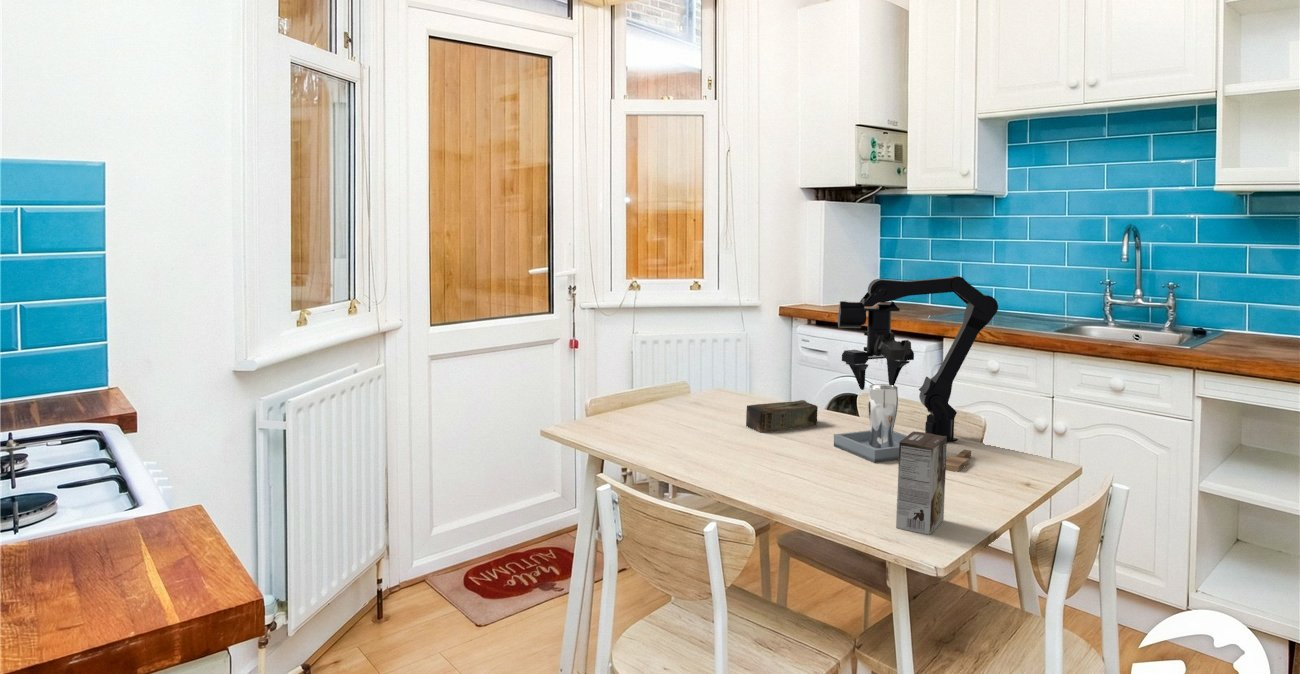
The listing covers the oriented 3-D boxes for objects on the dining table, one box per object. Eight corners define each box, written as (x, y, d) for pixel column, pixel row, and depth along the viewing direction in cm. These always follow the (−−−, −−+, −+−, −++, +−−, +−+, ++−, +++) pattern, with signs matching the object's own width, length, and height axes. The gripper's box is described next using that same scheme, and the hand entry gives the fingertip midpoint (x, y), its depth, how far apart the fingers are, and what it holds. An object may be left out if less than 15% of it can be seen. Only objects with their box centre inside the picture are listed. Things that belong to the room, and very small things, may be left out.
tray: (885, 439, 204) (886, 428, 203) (929, 455, 189) (929, 443, 189) (833, 446, 198) (834, 434, 197) (874, 463, 183) (874, 450, 183)
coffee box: (909, 513, 150) (913, 430, 148) (944, 520, 146) (948, 435, 144) (894, 528, 143) (897, 440, 141) (930, 535, 139) (934, 446, 137)
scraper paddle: (959, 455, 190) (959, 448, 189) (976, 457, 187) (976, 451, 187) (939, 468, 179) (940, 461, 178) (958, 471, 176) (958, 464, 176)
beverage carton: (818, 426, 219) (819, 403, 218) (759, 434, 211) (760, 410, 210) (801, 420, 226) (802, 397, 225) (744, 427, 218) (744, 404, 217)
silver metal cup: (891, 452, 189) (893, 390, 187) (862, 448, 193) (864, 387, 191) (899, 445, 195) (901, 385, 193) (871, 441, 199) (873, 382, 197)
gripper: (868, 333, 192) (866, 396, 194) (930, 330, 198) (927, 391, 200) (841, 328, 202) (839, 388, 204) (900, 325, 209) (898, 383, 211)
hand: (876, 388), depth 204 cm, fingers open, 9 cm apart
